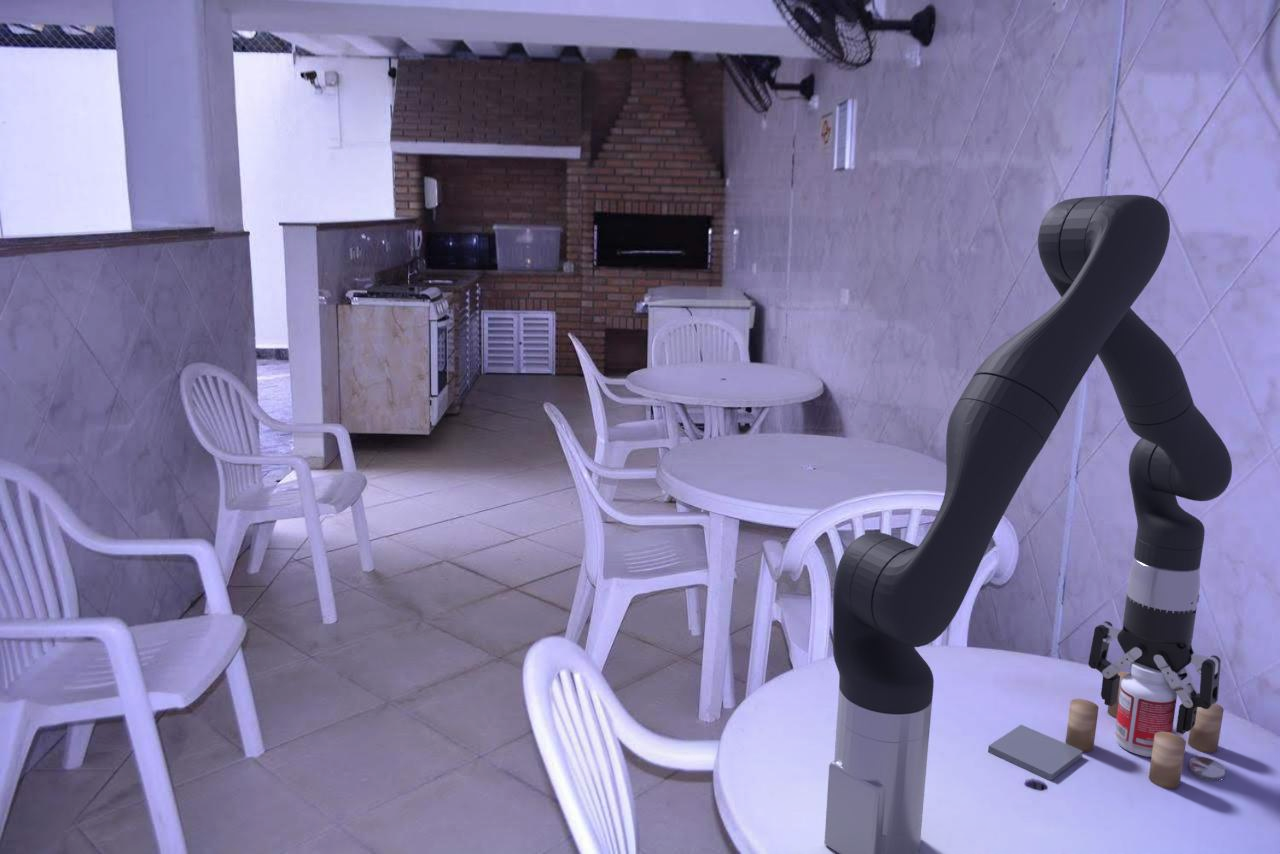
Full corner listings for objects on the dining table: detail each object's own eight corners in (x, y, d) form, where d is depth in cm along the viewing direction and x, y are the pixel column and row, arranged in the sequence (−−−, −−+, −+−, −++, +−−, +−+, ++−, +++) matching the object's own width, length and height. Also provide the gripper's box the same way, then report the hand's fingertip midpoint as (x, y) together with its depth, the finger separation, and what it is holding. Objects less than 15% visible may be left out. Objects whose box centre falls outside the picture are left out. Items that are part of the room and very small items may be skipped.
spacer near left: (1173, 792, 106) (1179, 749, 105) (1144, 779, 109) (1150, 737, 108) (1184, 782, 108) (1190, 739, 107) (1155, 770, 111) (1161, 728, 110)
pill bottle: (1178, 749, 115) (1190, 668, 113) (1152, 764, 112) (1164, 681, 110) (1130, 727, 120) (1140, 649, 118) (1103, 741, 117) (1114, 661, 115)
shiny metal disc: (1217, 786, 108) (1218, 777, 108) (1184, 772, 111) (1185, 763, 110) (1228, 775, 110) (1229, 766, 110) (1195, 762, 113) (1196, 753, 113)
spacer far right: (1128, 723, 121) (1133, 684, 120) (1103, 713, 124) (1108, 675, 123) (1138, 715, 123) (1143, 677, 122) (1113, 705, 126) (1118, 668, 125)
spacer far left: (1211, 756, 114) (1218, 715, 113) (1183, 745, 116) (1189, 705, 115) (1221, 747, 116) (1227, 707, 115) (1193, 736, 118) (1199, 697, 117)
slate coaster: (1050, 780, 108) (1051, 774, 108) (988, 751, 114) (988, 745, 114) (1082, 756, 113) (1082, 751, 113) (1020, 730, 119) (1021, 724, 119)
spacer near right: (1086, 755, 114) (1091, 714, 113) (1060, 743, 116) (1065, 704, 115) (1098, 746, 116) (1103, 706, 115) (1072, 735, 118) (1077, 696, 117)
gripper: (1088, 586, 115) (1075, 704, 118) (1215, 623, 104) (1196, 752, 108) (1115, 572, 120) (1101, 686, 123) (1238, 606, 109) (1219, 730, 112)
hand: (1145, 717), depth 115 cm, fingers open, 8 cm apart
